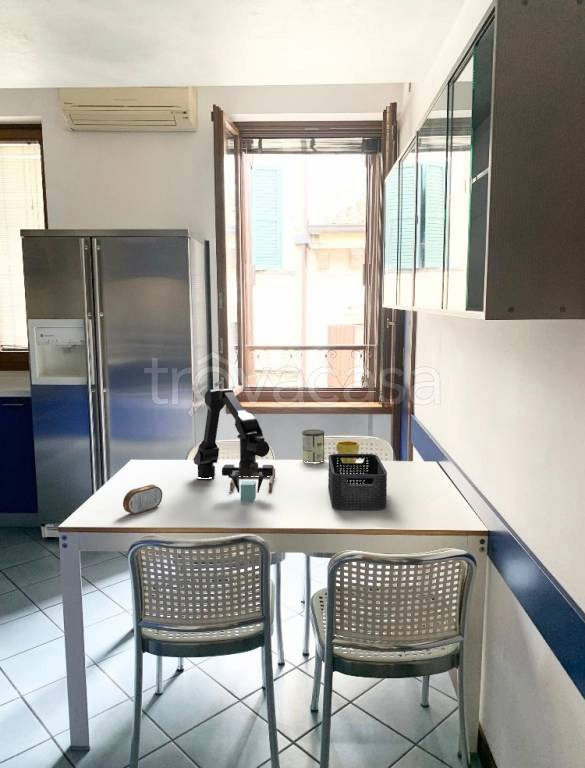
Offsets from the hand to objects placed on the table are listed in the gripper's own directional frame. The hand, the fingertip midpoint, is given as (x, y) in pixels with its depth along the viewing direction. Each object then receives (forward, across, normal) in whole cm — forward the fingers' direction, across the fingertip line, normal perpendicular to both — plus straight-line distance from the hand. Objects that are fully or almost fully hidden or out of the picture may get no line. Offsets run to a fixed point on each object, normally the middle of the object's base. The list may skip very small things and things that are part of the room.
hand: (248, 492), depth 210 cm
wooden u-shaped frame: (+2, 0, +18) cm, 19 cm away
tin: (+2, -35, -14) cm, 38 cm away
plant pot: (+2, +40, +50) cm, 64 cm away
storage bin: (+3, +40, +2) cm, 40 cm away
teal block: (+2, 0, 0) cm, 2 cm away
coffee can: (+2, +24, +55) cm, 60 cm away
